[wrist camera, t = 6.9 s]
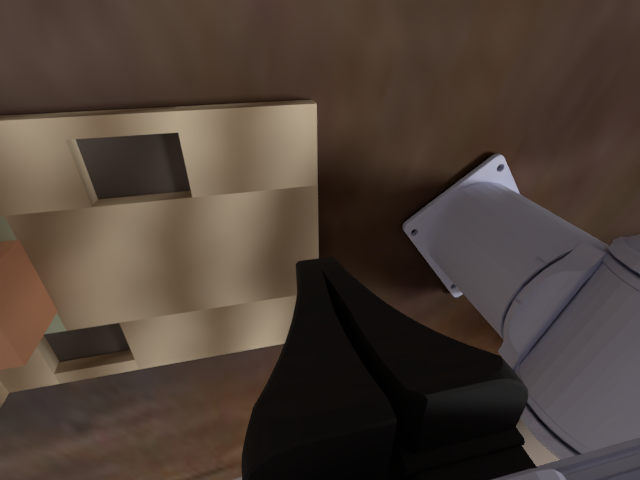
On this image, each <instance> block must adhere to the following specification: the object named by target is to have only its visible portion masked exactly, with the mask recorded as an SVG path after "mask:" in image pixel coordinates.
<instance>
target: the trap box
mask: <svg viewBox="0 0 640 480" xmlns="http://www.w3.org/2000/svg"><path fill="white" fill-rule="evenodd" d="M11 240H19V241H20V242H21V244H22V246H23V248H24V250H25V252H26V254H27V255H28V257H29V259H30V261H31V263H32V265H33V267H34V268H35V270H36V272H37V274H38V276H39V278H40V280H41V281H42V283H43V285H44V287H45V289H46V291H47V293H48V294H49V296H50V298H51V300H52V302H53V304H54V306H55V307H56V309H57V311H58V312H57V313H56V315H55V317H54V318H53V320H52V322H51V323H50V325H49V327H48V329H47V330H46V332H45V334H44V335H43V337H42V339H41V340H40V342H39V344H38V345H37V347H36V349H35V350H34V352H33V354H32V356H31V357H30V359H29V361H28V362H27V364H26V366H21V367H15V368H9V369H3V370H0V407H1V406H2V404H3V402H4V401H5V399H6V397H7V396H8V394H9V393H11V392H17V391H22V390H28V389H33V388H39V387H44V386H50V385H56V384H61V383H67V382H72V381H78V380H83V379H89V378H95V377H100V376H106V375H111V374H117V373H123V372H128V371H134V370H139V369H145V368H150V367H156V366H162V365H167V364H173V363H178V362H184V361H190V360H195V359H201V358H206V357H212V356H217V355H223V354H229V353H234V352H240V351H245V350H251V349H256V348H262V347H268V346H273V345H279V344H284V343H285V341H286V338H287V335H288V332H289V329H290V325H291V322H292V318H293V313H294V308H295V303H296V297H297V282H296V263H297V262H298V261H303V260H310V259H317V258H319V235H318V166H317V104H316V103H315V102H314V101H313V100H293V101H274V102H254V103H235V104H216V105H197V106H177V107H158V108H139V109H120V110H100V111H81V112H62V113H43V114H23V115H4V116H0V242H2V241H11Z"/></svg>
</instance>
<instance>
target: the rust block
mask: <svg viewBox="0 0 640 480" xmlns="http://www.w3.org/2000/svg"><path fill="white" fill-rule="evenodd" d="M57 312H58V311H57V309H56V307H55V306H54V304H53V302H52V300H51V298H50V296H49V294H48V293H47V291H46V289H45V287H44V285H43V283H42V281H41V280H40V278H39V276H38V274H37V272H36V270H35V268H34V267H33V265H32V263H31V261H30V259H29V257H28V255H27V254H26V252H25V250H24V248H23V246H22V244H21V242H20V241H19V240H11V241H2V242H0V370H3V369H9V368H15V367H21V366H26V364H27V362H28V361H29V359H30V357H31V356H32V354H33V352H34V350H35V349H36V347H37V345H38V344H39V342H40V340H41V339H42V337H43V335H44V334H45V332H46V330H47V329H48V327H49V325H50V323H51V322H52V320H53V318H54V317H55V315H56V313H57Z"/></svg>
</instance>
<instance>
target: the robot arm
mask: <svg viewBox="0 0 640 480" xmlns="http://www.w3.org/2000/svg"><path fill="white" fill-rule="evenodd" d="M499 165H500V167H499V168H498V169H497V167H498V166H499ZM402 228H403V230H404V232H405V233H406V234H407V236H408V237H409V238H410V240H411V241H412V242H413V244H414V245H415V246H416V248H417V249H418V250H419V252H420V253H421V254H422V256H423V257H424V258H425V260H426V261H427V262H428V264H429V265H430V266H431V268H432V269H433V270H434V272H435V273H436V274H437V276H438V277H439V278H440V280H441V281H442V282H443V284H444V285H445V286H446V288H447V289H448V290H449V292H450V293H451V294H452V295H453V296H454V297H459V296H461V295H462V294H464V296H465V297H466V298H467V299H468V300H469V301H470V302H471V303H472V305H473V306H474V307H475V308H476V309H477V310H478V311H479V313H480V314H481V315H482V316H483V317H484V318H485V319H486V321H487V322H488V323H489V324H490V325H491V326H492V327H493V329H494V330H495V331H496V332H497V333H498V334H499V335H500V336H501V338H502V339H503V343H502V345H501V347H500V348H499V350H498V353H499V354H500V355H501V356H502V357H503V358H502V357H501V356H499V355H496V354H493V353H490V352H487V351H484V350H481V349H478V348H475V347H472V346H469V345H467V344H464V343H462V342H459V341H457V340H454V339H452V338H450V337H447V336H445V335H443V334H440V333H438V332H436V331H434V330H432V329H430V328H428V327H426V326H424V325H422V324H420V323H418V322H416V321H414V320H413V319H411V318H409V317H407V316H406V315H404V314H402V313H401V312H399V311H398V310H396V309H394V308H393V307H391V306H390V305H388V304H387V303H385V302H384V301H383V300H381V299H380V298H379V297H377V296H376V295H375V294H373V293H372V292H371V291H370V290H368V289H367V288H366V287H365V286H364V285H362V284H361V283H360V282H359V281H358V280H357V279H355V278H354V277H353V276H352V275H351V274H350V273H349V272H348V271H347V270H346V269H345V268H344V267H342V266H341V265H340V264H339V263H338V262H337V261H336V260H335V259H334V258H333V257H325V258H317V259H310V260H303V261H298V262H297V263H296V282H297V297H296V303H295V308H294V313H293V318H292V322H291V325H290V329H289V332H288V335H287V338H286V341H285V344H284V346H283V349H282V352H281V354H280V357H279V359H278V361H277V363H276V366H275V368H274V370H273V372H272V374H271V376H270V378H269V380H268V382H267V384H266V386H265V388H264V390H263V391H262V393H261V395H260V396H259V398H258V400H257V402H256V403H255V405H254V407H253V410H252V414H251V417H250V421H249V424H248V428H247V432H246V437H245V441H244V447H243V453H242V480H640V235H634V236H629V237H617V238H616V239H614V240H613V242H612V244H611V245H610V246H609V245H607V244H605V243H603V242H602V241H600V240H598V239H596V238H595V237H593V236H591V235H589V234H588V233H586V232H584V231H583V230H581V229H579V228H577V227H576V226H574V225H572V224H570V223H569V222H567V221H565V220H563V219H562V218H560V217H558V216H557V215H555V214H553V213H551V212H550V211H548V210H546V209H544V208H543V207H541V206H539V205H537V204H536V203H534V202H532V201H530V200H529V199H527V198H525V197H524V196H522V195H520V193H519V191H518V188H517V186H516V184H515V181H514V179H513V177H512V174H511V172H510V170H509V167H508V165H507V163H506V160H505V158H504V156H503V155H500V154H498V153H497V154H494V155H492V156H491V157H489V158H488V159H487V160H485V161H484V162H483V163H482V164H480V165H479V166H478V167H476V168H475V169H474V170H472V171H471V172H470V173H468V174H467V175H466V176H464V177H463V178H462V179H460V180H459V181H458V182H457V183H455V184H454V185H453V186H451V187H450V188H449V189H447V190H446V191H445V192H443V193H442V194H441V195H439V196H438V197H437V198H435V199H434V200H433V201H432V202H430V203H429V204H428V205H426V206H425V207H424V208H422V209H421V210H420V211H418V212H417V213H416V214H414V215H413V216H412V217H410V218H409V219H408V220H407V221H405V222H404V224H403V227H402ZM414 229H415V231H414V232H413V233H411V232H412V230H414ZM452 284H453V285H452ZM505 361H506V362H507V363H508V364H507V363H506V362H505ZM519 419H521V420H522V421H523V423H524V424H525V426H526V427H527V428H528V429H529V431H530V432H531V433H532V434H533V435H534V436H535V437H536V439H537V440H538V441H539V442H541V443H542V445H544V446H545V447H546V448H547V449H548V450H549V451H550V452H551V453H553V454H554V455H555V456H556V457H558V458H559V459H560V460H558V461H555V462H551V463H548V464H544V465H541V466H537V467H536V466H535V464H534V463H533V461H532V460H531V459H530V457H529V455H528V454H527V453H526V451H525V450H524V449H523V447H522V446H521V445H524V443H525V441H524V438H523V437H522V435H521V434H520V432H519V431H518V429H517V428H516V425H517V423H518V421H519Z"/></svg>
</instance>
